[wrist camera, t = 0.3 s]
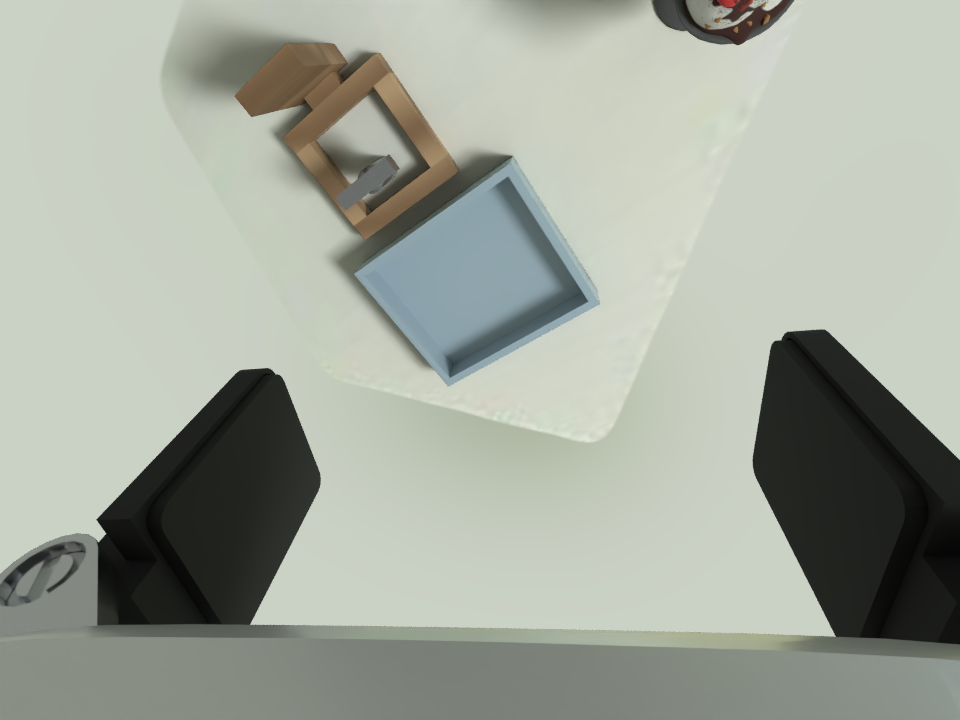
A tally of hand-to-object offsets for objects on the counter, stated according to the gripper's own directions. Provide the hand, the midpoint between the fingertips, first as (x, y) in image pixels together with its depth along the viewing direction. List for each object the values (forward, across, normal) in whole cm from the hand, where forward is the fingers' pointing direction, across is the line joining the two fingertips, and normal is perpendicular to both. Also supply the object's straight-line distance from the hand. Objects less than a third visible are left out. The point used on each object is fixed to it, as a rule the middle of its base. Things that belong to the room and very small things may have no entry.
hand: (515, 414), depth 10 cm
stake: (+36, +12, 0) cm, 38 cm away
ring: (+36, +14, -2) cm, 38 cm away
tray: (+36, +6, +11) cm, 38 cm away
